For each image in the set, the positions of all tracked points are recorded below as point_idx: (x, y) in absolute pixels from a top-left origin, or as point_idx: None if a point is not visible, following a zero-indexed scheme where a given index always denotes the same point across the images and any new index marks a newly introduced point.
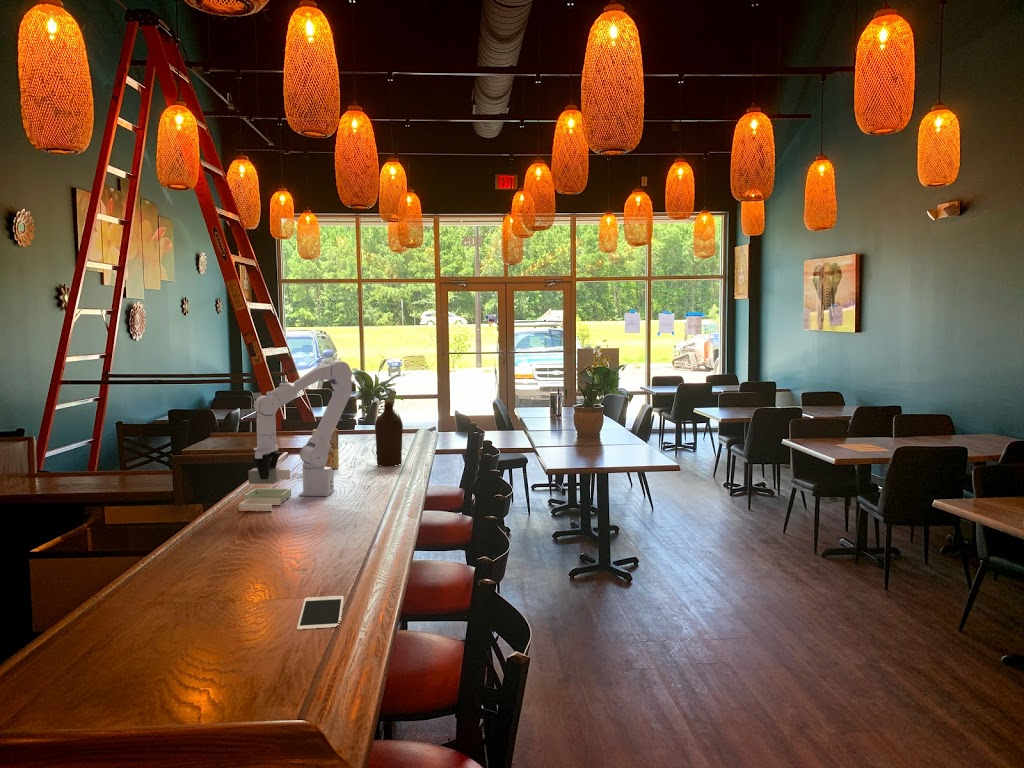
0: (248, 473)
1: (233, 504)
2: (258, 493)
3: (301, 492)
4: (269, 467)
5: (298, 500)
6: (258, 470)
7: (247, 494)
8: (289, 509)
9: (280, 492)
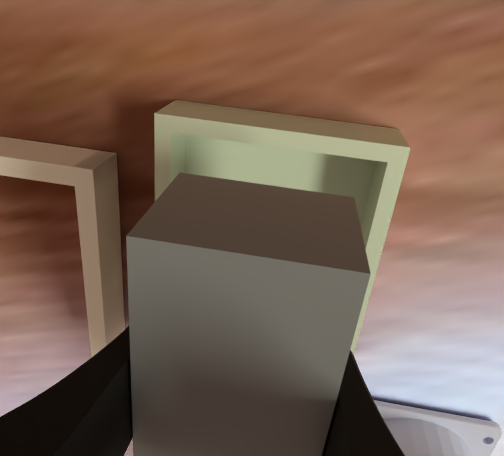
0: (141, 219)
1: (119, 24)
2: (376, 169)
3: (397, 411)
4: (330, 442)
5: None
6: (76, 371)
7: (164, 140)
8: (50, 373)
9: None
